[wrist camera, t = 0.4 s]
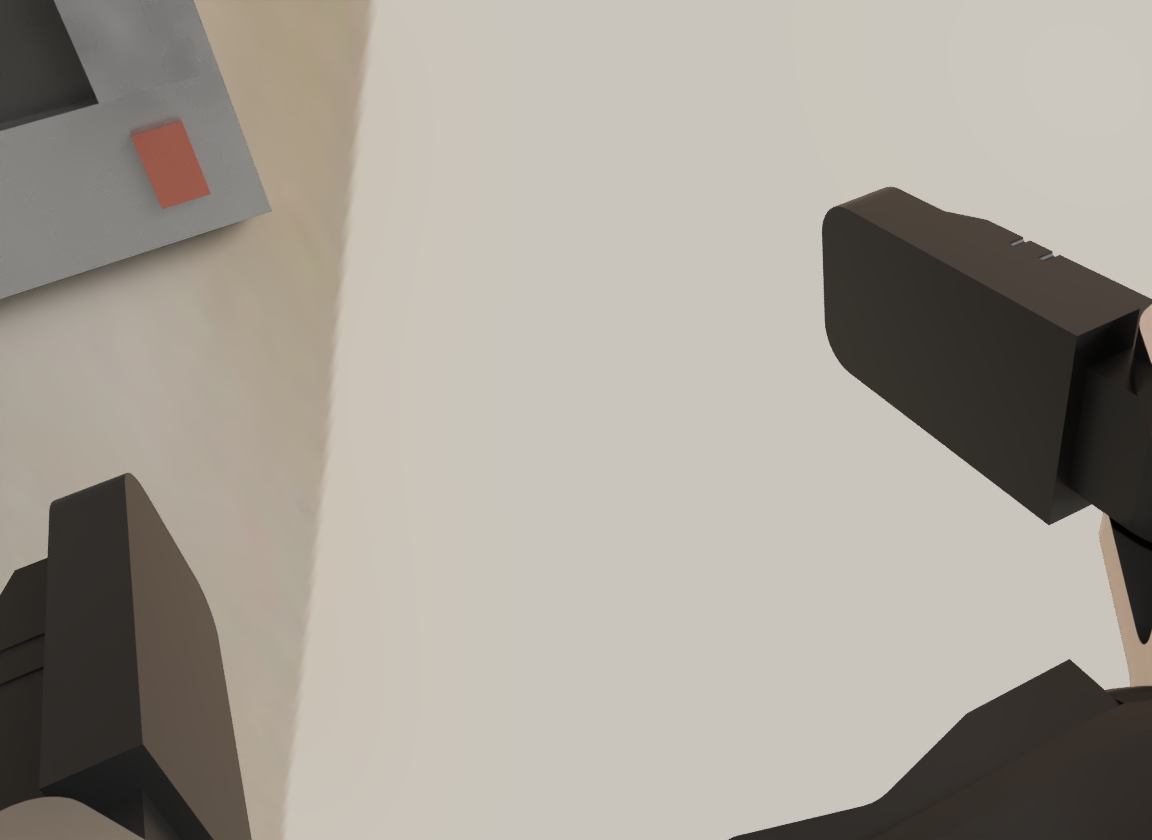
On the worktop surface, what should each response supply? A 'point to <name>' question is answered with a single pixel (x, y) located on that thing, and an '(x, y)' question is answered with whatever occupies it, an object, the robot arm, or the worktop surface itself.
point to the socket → (112, 136)
